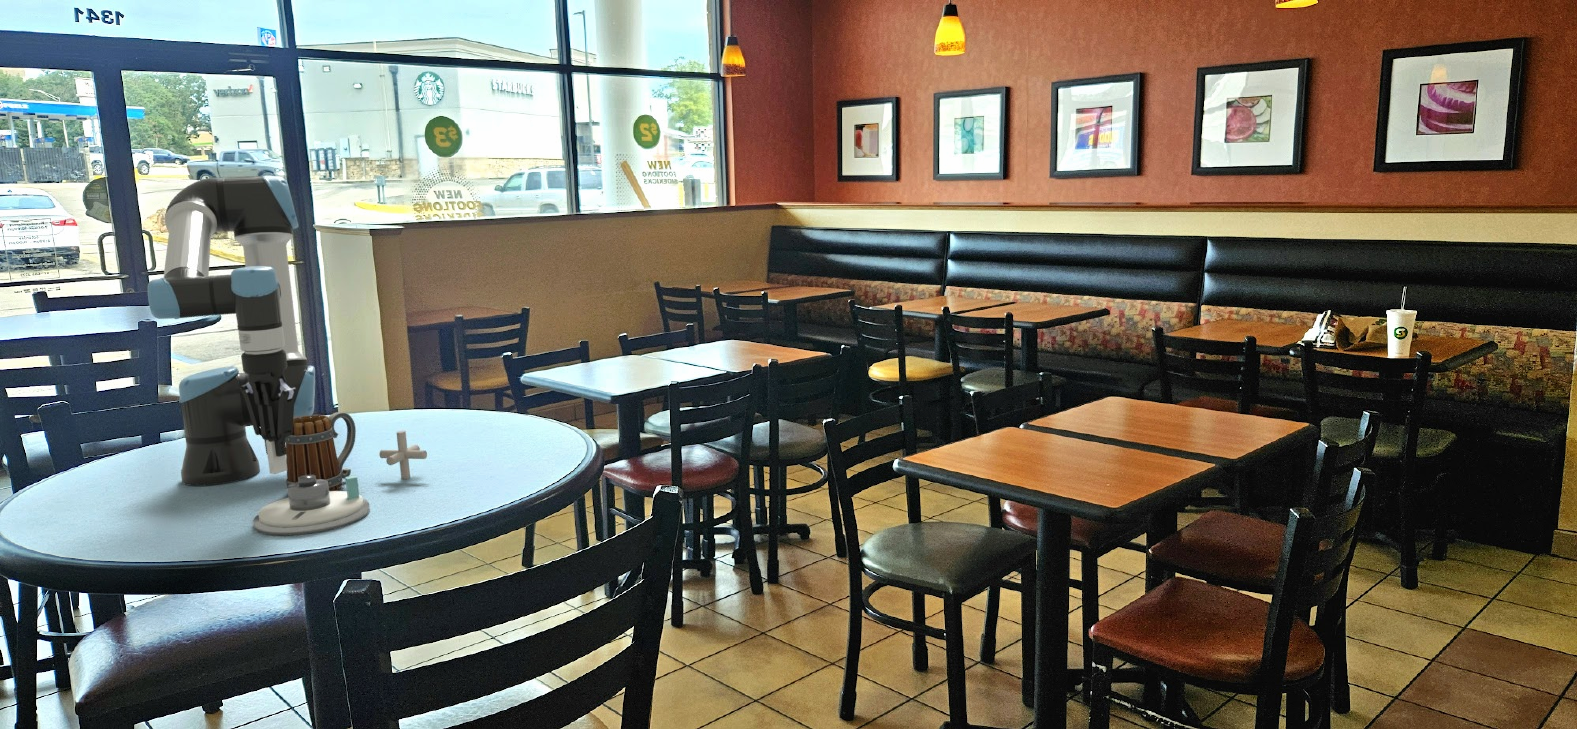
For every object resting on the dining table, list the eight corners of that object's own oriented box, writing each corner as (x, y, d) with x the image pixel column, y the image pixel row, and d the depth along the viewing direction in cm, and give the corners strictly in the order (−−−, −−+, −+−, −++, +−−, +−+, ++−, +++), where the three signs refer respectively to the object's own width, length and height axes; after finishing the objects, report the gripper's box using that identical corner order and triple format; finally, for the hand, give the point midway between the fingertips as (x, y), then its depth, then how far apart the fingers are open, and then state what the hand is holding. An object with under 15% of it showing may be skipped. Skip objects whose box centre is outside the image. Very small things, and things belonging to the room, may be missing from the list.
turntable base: (229, 528, 198) (228, 522, 198) (319, 497, 216) (318, 491, 215) (305, 541, 189) (304, 534, 189) (392, 508, 207) (392, 502, 207)
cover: (281, 508, 201) (278, 479, 200) (313, 497, 207) (310, 470, 206) (306, 512, 197) (302, 483, 196) (338, 502, 203) (335, 473, 202)
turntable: (237, 520, 198) (233, 493, 197) (318, 493, 214) (315, 468, 213) (305, 531, 190) (302, 503, 189) (384, 502, 206) (381, 476, 205)
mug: (308, 500, 214) (299, 427, 211) (276, 494, 219) (267, 422, 217) (374, 480, 227) (367, 410, 224) (343, 474, 232) (335, 406, 230)
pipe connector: (414, 485, 222) (409, 437, 220) (371, 484, 224) (365, 437, 222) (439, 471, 232) (435, 426, 230) (397, 470, 234) (392, 425, 232)
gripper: (221, 351, 200) (238, 473, 205) (269, 356, 194) (285, 481, 199) (256, 344, 206) (272, 462, 211) (304, 348, 201) (319, 470, 206)
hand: (278, 471), depth 205 cm, fingers closed
